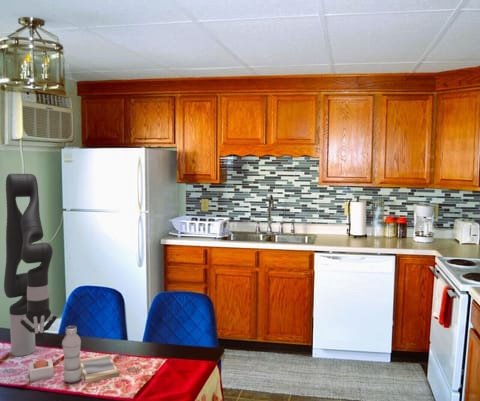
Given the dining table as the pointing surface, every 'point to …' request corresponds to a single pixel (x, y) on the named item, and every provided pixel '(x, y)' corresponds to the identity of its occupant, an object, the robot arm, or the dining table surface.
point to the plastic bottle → (72, 355)
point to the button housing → (41, 371)
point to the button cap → (40, 363)
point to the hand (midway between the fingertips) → (39, 341)
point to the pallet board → (98, 368)
